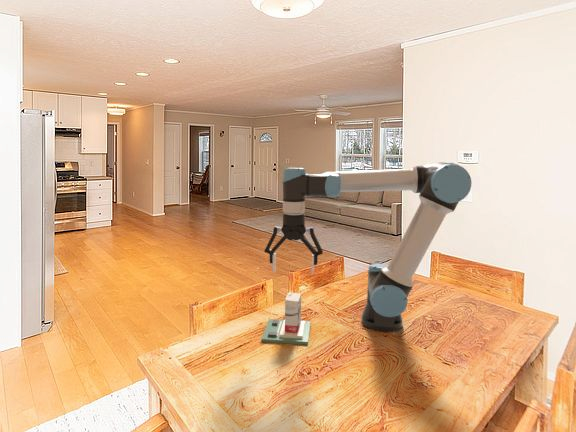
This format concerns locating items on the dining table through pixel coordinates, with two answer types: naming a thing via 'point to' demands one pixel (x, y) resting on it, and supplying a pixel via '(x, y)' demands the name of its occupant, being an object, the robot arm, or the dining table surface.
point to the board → (285, 333)
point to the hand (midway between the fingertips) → (293, 272)
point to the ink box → (292, 312)
